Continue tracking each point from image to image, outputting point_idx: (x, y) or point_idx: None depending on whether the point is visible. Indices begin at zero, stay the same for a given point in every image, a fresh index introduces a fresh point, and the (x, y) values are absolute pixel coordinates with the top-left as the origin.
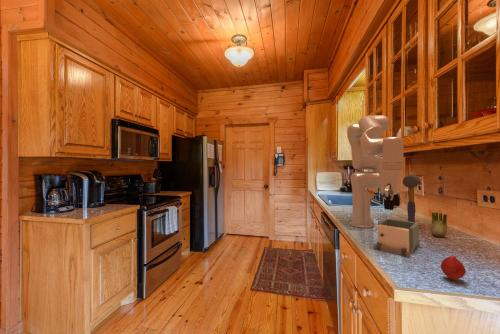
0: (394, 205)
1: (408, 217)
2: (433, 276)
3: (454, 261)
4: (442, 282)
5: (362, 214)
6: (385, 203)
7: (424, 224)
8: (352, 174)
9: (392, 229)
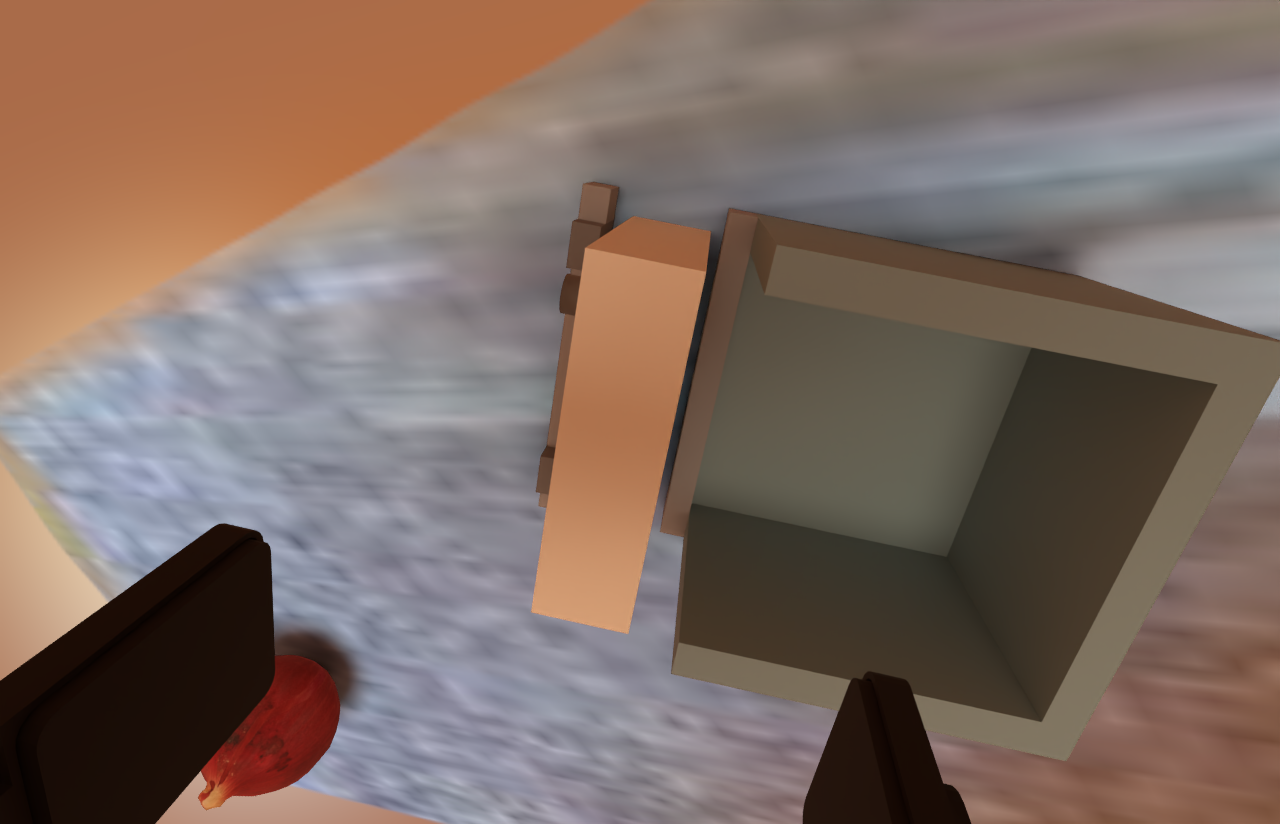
0: (831, 735)
1: None
2: (290, 588)
3: (201, 771)
4: None
5: None
6: (95, 641)
7: None
8: None
9: (557, 452)
